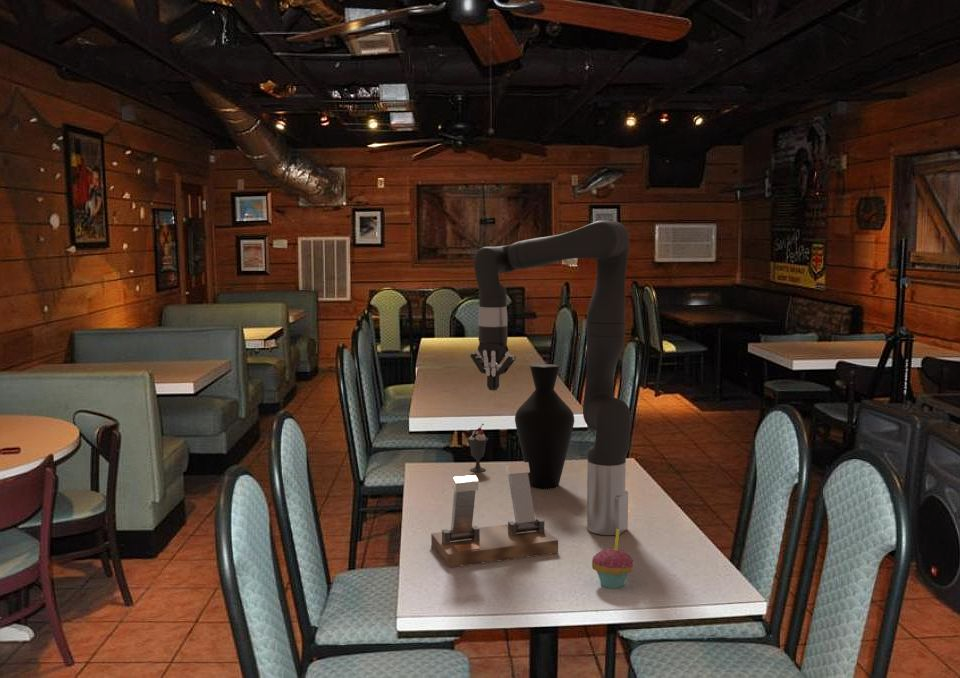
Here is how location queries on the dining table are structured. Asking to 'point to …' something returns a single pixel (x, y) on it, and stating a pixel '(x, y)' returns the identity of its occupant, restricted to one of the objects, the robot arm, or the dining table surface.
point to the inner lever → (521, 496)
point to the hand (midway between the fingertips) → (493, 389)
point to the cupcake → (612, 565)
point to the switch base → (494, 544)
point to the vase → (544, 429)
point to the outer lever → (463, 507)
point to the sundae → (477, 447)
